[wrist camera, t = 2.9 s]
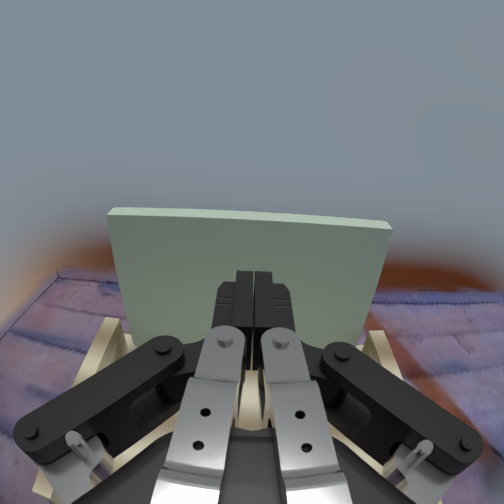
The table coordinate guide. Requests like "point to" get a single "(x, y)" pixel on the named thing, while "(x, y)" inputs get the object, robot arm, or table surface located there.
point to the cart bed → (118, 345)
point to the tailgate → (244, 268)
